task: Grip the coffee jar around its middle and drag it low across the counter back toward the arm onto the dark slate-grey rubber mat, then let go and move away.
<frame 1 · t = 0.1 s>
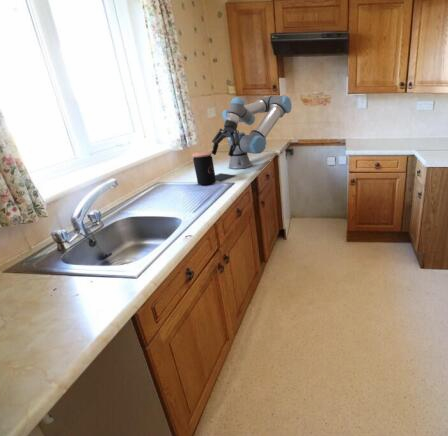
hand: (221, 155, 194), 15 cm above the counter, tool tilted 35°, fingers open, 13 cm apart
mat: (220, 177, 205), on the counter
coffee jar: (207, 183, 194), on the counter
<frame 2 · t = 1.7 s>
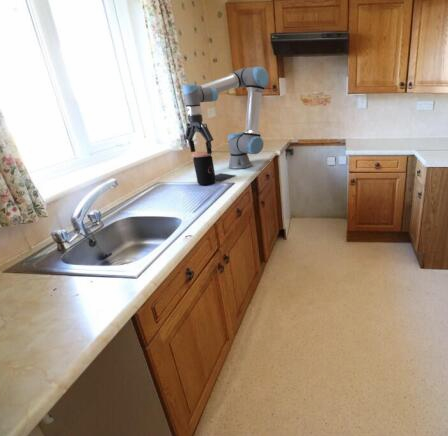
hand: (201, 152, 187), 19 cm above the counter, tool pointing down, fingers open, 13 cm apart
nothing on the counter moved.
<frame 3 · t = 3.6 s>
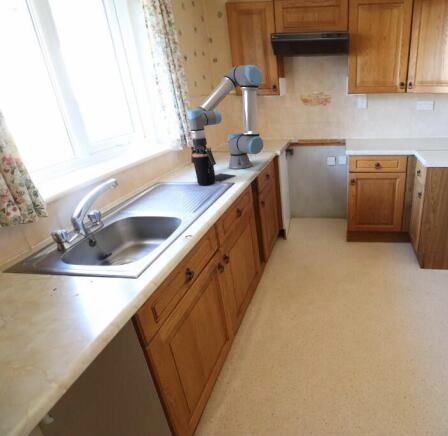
hand: (205, 175, 192), 5 cm above the counter, tool pointing down, fingers closed on coffee jar, 11 cm apart
coffee jar: (207, 183, 194), on the counter, touching gripper
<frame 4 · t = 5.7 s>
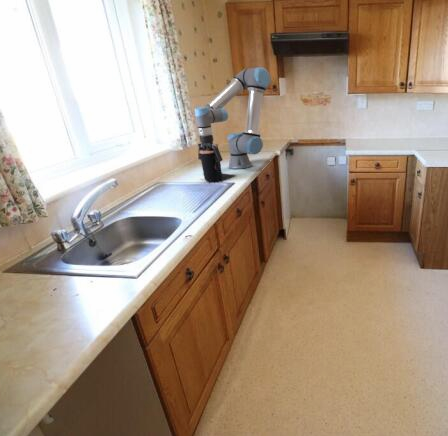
hand: (212, 171, 197), 6 cm above the counter, tool pointing down, fingers closed on coffee jar, 11 cm apart
coffee jar: (213, 179, 199), point 1 cm above the counter, touching gripper
when the fingers open (5 cm above the counter, at t = 7.9 s): coffee jar stays where it is, resting on mat.
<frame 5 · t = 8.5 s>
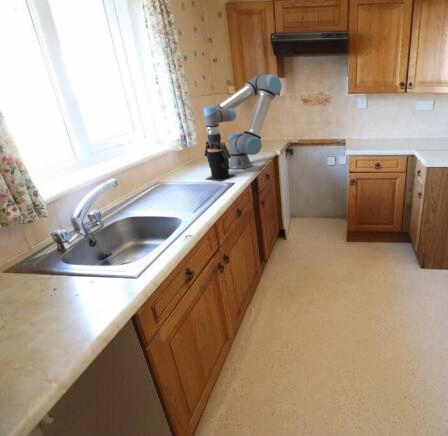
hand: (219, 168, 202), 6 cm above the counter, tool pointing down, fingers open, 13 cm apart
coffee jar: (220, 177, 205), resting on mat
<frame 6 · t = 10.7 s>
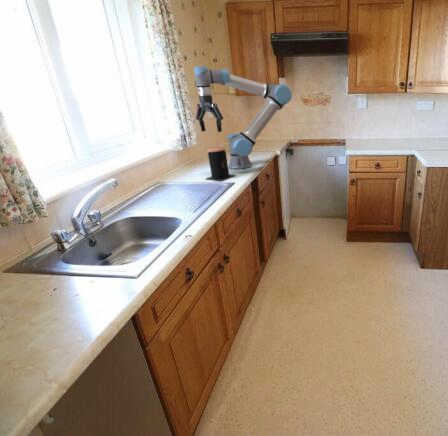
hand: (211, 131, 200), 28 cm above the counter, tool pointing down, fingers open, 13 cm apart
nothing on the counter moved.
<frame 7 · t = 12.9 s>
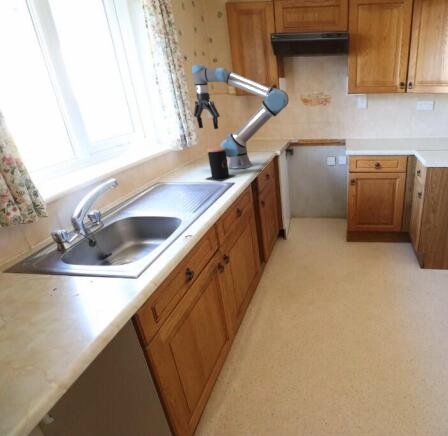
hand: (208, 128, 206), 29 cm above the counter, tool pointing down, fingers open, 13 cm apart
nothing on the counter moved.
at the end: coffee jar inside the target area (0.0 cm from its centre), resting on mat; coffee jar tilted 0° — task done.
